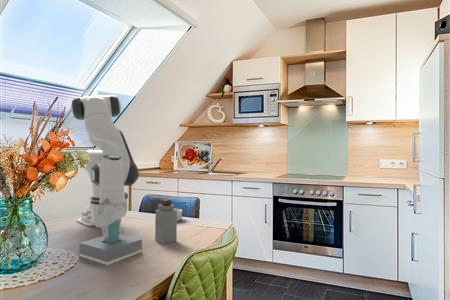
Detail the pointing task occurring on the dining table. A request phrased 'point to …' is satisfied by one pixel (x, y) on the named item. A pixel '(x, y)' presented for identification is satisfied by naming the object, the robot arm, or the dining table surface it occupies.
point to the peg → (113, 233)
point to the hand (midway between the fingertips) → (111, 233)
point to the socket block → (110, 249)
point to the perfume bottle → (166, 222)
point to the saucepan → (179, 214)
